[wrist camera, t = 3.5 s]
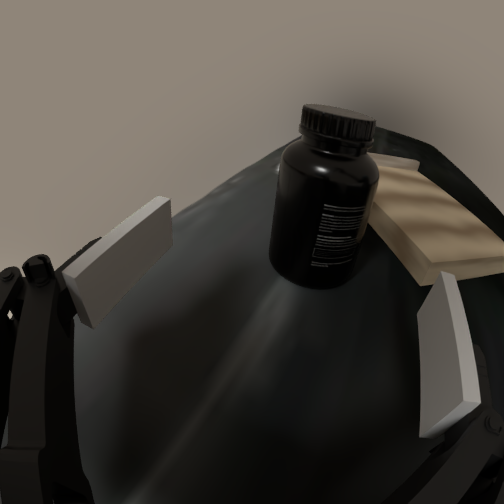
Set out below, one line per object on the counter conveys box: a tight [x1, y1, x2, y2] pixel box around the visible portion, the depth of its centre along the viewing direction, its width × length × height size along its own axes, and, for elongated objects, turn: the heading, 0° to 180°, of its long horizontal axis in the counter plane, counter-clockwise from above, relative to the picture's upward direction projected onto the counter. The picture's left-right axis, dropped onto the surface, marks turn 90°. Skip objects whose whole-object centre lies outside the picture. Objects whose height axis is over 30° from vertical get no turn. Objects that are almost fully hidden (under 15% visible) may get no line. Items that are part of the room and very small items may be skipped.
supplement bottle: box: [269, 104, 379, 289], centre depth 21 cm, size 7×7×12 cm
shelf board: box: [367, 153, 504, 286], centre depth 32 cm, size 23×16×4 cm
